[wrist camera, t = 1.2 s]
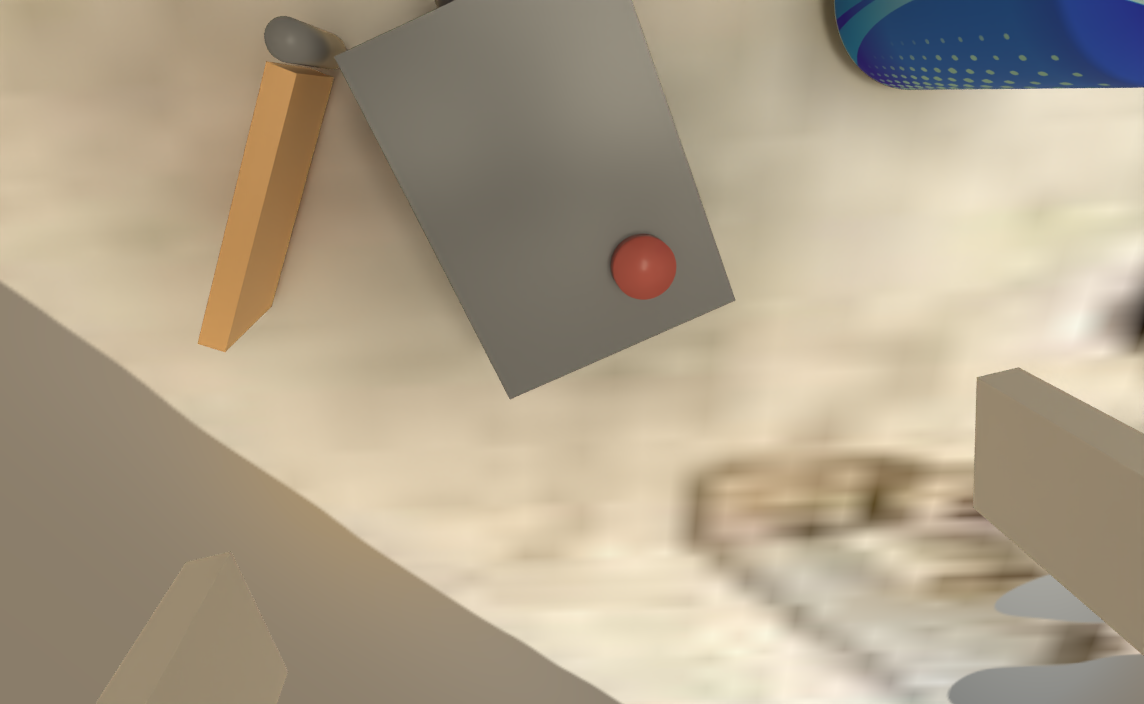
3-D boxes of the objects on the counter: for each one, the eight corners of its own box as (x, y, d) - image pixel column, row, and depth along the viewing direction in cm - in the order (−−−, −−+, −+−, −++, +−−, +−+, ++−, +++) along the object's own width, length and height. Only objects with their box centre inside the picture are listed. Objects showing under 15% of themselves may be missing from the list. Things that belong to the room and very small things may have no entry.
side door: (310, 24, 28) (262, 5, 22) (350, 41, 28) (313, 27, 22) (240, 295, 32) (182, 341, 26) (277, 306, 32) (228, 355, 26)
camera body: (351, 33, 29) (305, 13, 22) (568, -69, 29) (595, -124, 21) (505, 342, 35) (509, 408, 27) (688, 261, 34) (742, 306, 27)
